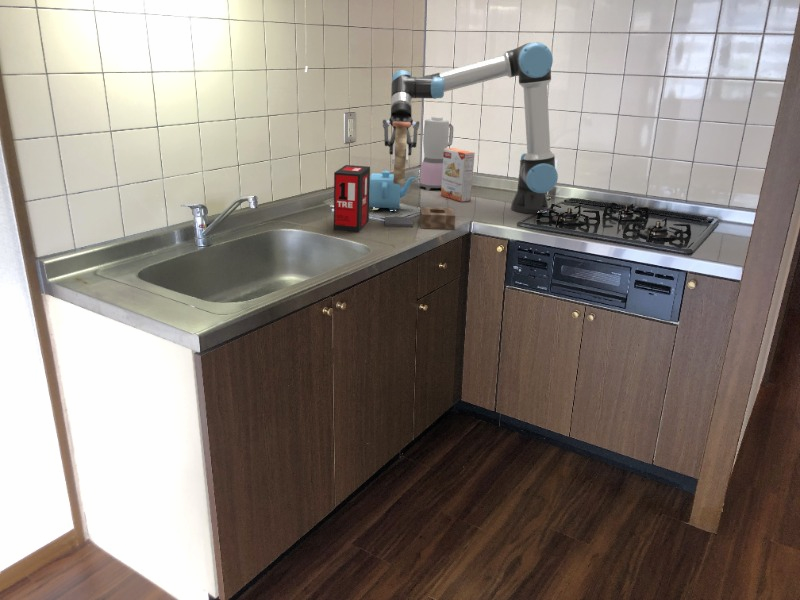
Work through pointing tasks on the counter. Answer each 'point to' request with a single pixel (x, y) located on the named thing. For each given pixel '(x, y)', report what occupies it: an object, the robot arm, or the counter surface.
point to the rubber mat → (398, 221)
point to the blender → (434, 151)
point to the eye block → (437, 218)
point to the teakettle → (386, 191)
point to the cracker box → (457, 174)
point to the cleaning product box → (351, 198)
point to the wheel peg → (400, 151)
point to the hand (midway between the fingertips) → (400, 161)
